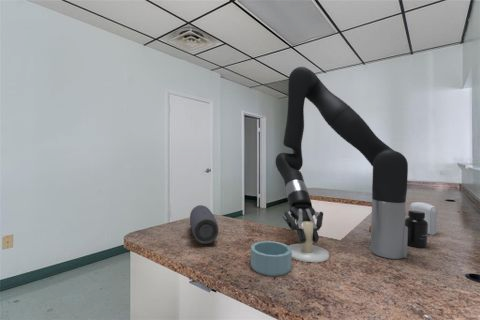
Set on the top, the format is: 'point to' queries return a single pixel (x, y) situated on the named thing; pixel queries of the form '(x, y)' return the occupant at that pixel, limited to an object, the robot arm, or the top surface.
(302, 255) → the lid
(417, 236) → the supplement bottle
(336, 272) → the top surface
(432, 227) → the photo printer
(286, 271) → the bowl
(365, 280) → the top surface
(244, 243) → the top surface
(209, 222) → the bluetooth speaker
